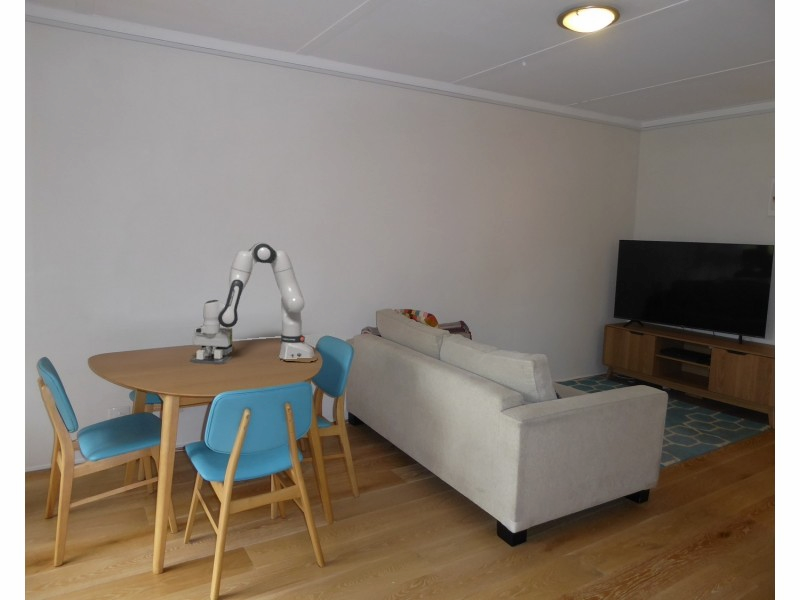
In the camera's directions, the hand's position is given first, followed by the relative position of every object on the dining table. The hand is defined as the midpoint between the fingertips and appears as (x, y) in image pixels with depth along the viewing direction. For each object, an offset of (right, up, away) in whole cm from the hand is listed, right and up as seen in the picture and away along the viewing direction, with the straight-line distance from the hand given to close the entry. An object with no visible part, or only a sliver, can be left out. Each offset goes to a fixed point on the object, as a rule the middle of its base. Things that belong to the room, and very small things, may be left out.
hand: (211, 353), depth 306 cm
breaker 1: (-4, -2, -4) cm, 6 cm away
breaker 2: (-4, -1, +5) cm, 6 cm away
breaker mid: (+4, -2, 0) cm, 4 cm away
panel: (0, -4, 0) cm, 4 cm away
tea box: (-3, -2, +19) cm, 20 cm away
